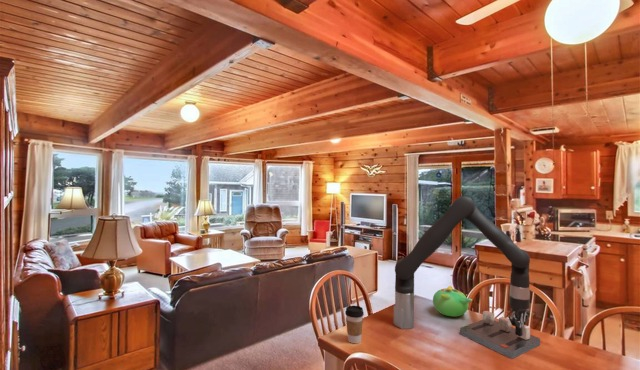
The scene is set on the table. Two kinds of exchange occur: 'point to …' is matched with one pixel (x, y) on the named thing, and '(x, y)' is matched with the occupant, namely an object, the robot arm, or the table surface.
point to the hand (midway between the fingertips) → (518, 335)
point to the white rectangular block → (525, 332)
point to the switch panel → (499, 336)
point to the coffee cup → (354, 323)
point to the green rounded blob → (451, 302)
